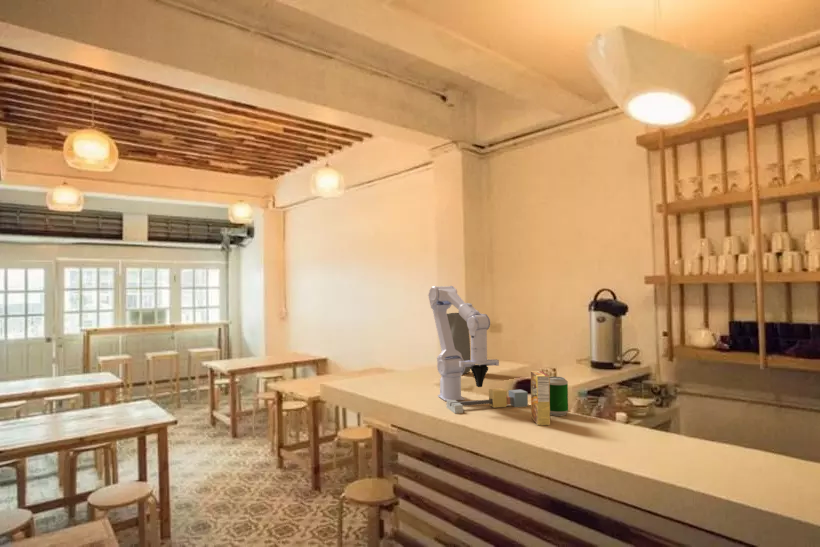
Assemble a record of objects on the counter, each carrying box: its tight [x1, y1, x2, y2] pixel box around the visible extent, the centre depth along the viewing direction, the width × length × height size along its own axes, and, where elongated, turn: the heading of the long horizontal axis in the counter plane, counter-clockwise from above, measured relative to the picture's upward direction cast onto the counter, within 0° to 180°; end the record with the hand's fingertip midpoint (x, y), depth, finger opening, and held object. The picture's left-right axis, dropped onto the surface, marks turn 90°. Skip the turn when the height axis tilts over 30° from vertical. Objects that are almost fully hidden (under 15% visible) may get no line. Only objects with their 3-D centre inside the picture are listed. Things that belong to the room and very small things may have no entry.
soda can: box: [550, 376, 569, 417], centre depth 164 cm, size 8×8×12 cm
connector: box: [507, 389, 529, 408], centre depth 177 cm, size 5×7×5 cm
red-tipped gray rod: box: [451, 395, 511, 407], centre depth 173 cm, size 23×3×3 cm, turn 105°
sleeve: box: [488, 387, 508, 408], centre depth 175 cm, size 4×5×6 cm
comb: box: [445, 400, 464, 414], centre depth 171 cm, size 9×3×3 cm, turn 15°
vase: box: [447, 312, 471, 375], centre depth 246 cm, size 12×12×30 cm
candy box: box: [530, 370, 551, 426], centre depth 155 cm, size 9×4×15 cm, turn 179°
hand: (479, 386), depth 173 cm, fingers closed
